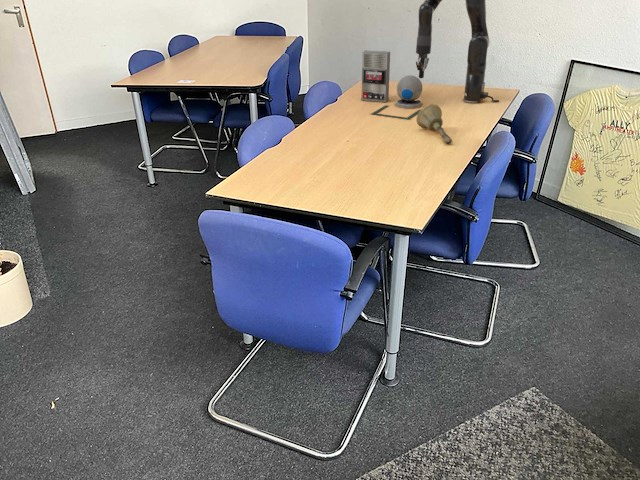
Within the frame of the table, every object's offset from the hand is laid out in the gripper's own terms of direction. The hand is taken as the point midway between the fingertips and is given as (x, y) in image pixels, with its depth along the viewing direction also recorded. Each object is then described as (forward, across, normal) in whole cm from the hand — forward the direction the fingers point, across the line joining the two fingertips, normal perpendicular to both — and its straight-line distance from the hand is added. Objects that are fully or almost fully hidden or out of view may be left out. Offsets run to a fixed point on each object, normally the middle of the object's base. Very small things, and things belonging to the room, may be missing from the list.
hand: (421, 77), depth 285 cm
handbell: (+11, -56, -32) cm, 65 cm away
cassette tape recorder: (+11, -15, +20) cm, 27 cm away
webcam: (+11, -16, 0) cm, 19 cm away
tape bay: (+11, -30, 0) cm, 32 cm away
